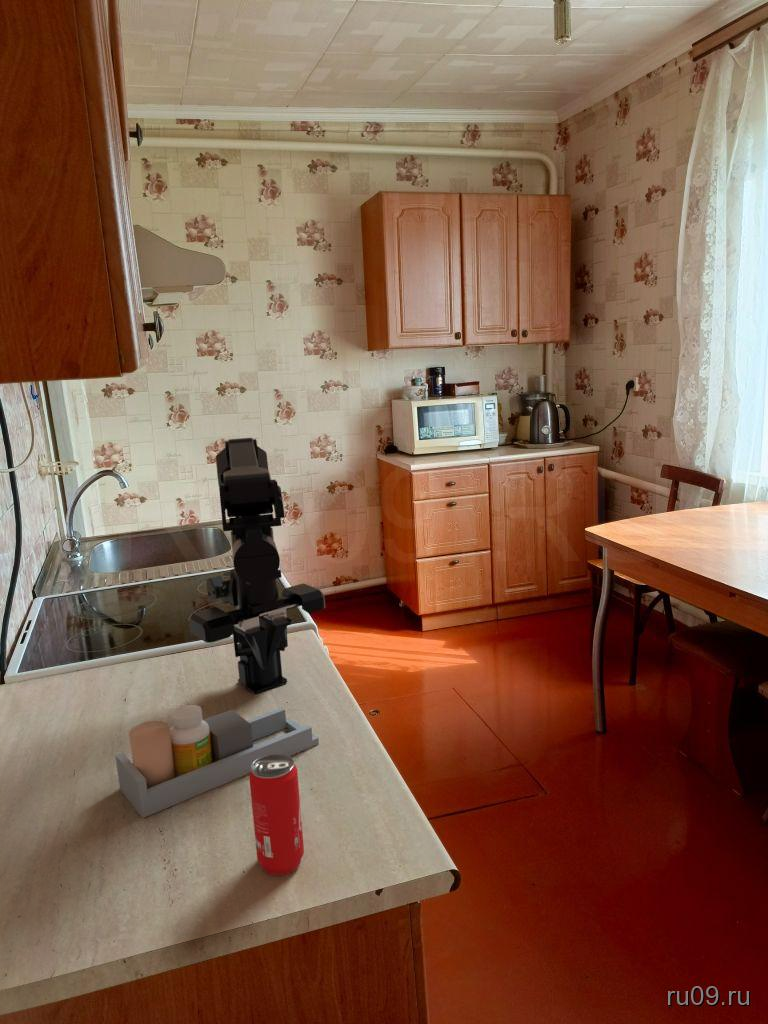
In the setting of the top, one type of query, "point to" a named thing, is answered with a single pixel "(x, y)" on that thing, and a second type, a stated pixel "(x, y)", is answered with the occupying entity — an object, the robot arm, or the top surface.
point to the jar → (152, 751)
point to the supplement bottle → (190, 740)
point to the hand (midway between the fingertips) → (264, 667)
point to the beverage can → (276, 813)
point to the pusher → (229, 734)
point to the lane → (213, 765)
